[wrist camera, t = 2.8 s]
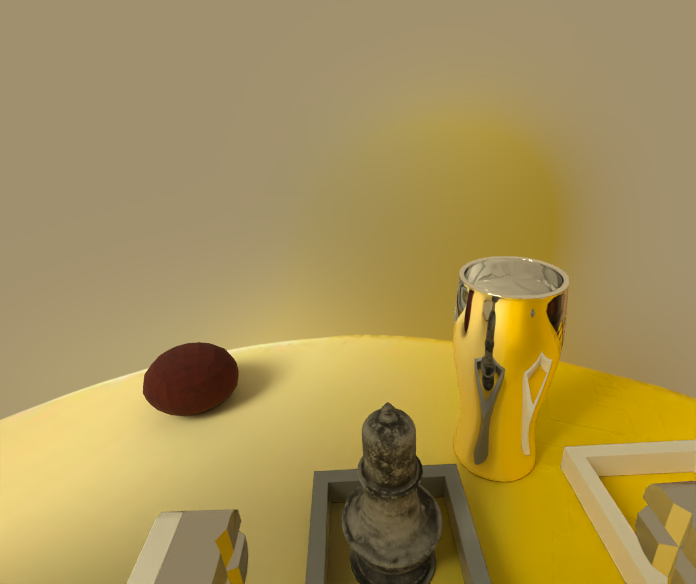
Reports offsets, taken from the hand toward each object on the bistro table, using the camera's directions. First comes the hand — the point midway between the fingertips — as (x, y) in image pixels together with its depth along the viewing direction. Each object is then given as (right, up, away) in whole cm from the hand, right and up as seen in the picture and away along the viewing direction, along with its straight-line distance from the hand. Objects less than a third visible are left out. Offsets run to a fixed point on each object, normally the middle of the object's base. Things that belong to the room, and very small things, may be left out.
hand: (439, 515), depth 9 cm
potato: (-16, -6, +33) cm, 37 cm away
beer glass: (+10, -8, +25) cm, 28 cm away
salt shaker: (+1, -12, +18) cm, 22 cm away
